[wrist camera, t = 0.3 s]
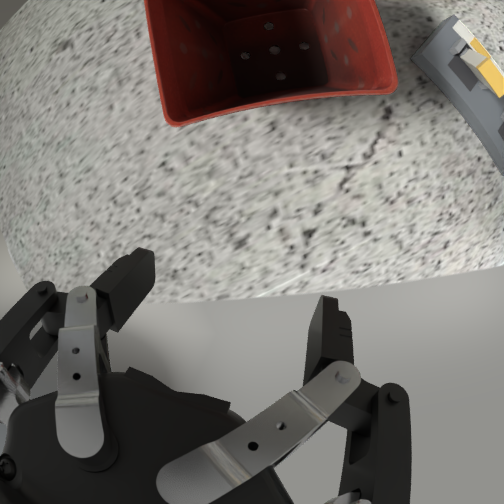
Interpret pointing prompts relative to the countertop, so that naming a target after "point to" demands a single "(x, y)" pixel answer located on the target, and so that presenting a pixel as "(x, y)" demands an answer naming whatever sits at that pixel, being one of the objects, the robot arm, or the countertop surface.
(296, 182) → the countertop surface
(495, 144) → the switch console
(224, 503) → the robot arm
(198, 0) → the plant pot
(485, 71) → the lever
